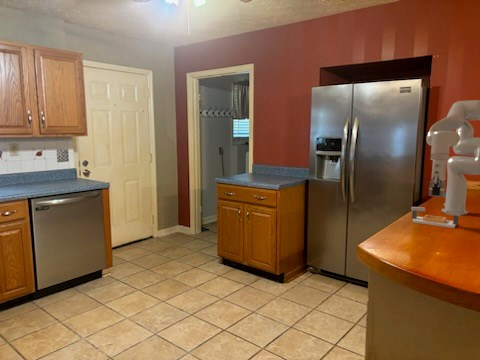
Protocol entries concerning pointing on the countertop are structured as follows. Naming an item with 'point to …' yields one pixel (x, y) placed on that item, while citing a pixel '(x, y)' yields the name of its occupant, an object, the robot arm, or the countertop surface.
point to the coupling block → (442, 188)
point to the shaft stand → (435, 218)
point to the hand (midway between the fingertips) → (436, 194)
